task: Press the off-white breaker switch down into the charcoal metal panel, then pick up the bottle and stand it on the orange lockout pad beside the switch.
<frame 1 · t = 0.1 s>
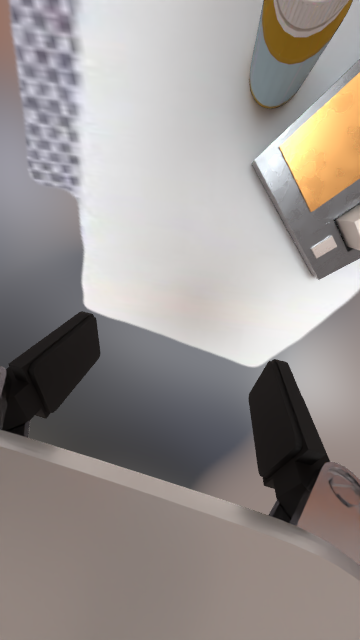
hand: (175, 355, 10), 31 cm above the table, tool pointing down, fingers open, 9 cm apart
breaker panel: (337, 187, 28), on the table
bottle: (277, 71, 23), on the table
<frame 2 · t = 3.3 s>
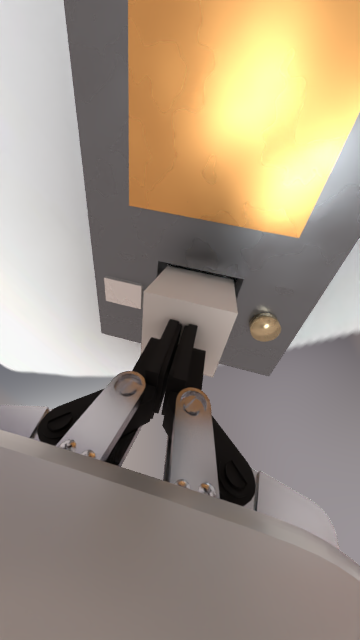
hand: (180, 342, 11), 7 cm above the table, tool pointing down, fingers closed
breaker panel: (213, 218, 13), on the table
breaker switch: (188, 317, 13), point 4 cm above the table, slide at 0.0 cm, touching gripper
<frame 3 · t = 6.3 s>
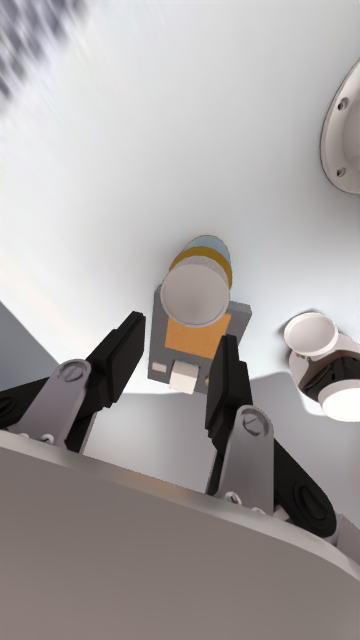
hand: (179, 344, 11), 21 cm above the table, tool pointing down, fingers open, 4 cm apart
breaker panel: (192, 342, 38), on the table
bottle: (206, 258, 29), on the table
breaker switch: (184, 373, 38), point 3 cm above the table, slide at 1.2 cm
spread jar: (308, 339, 32), on the table
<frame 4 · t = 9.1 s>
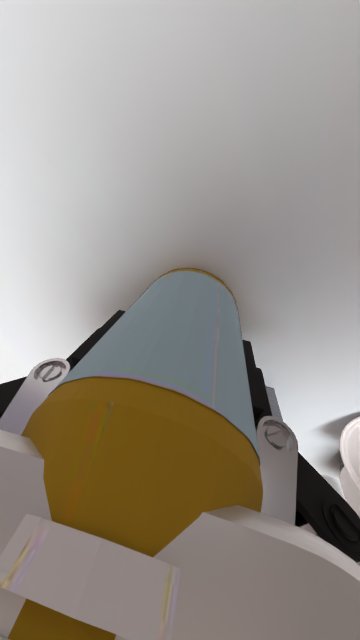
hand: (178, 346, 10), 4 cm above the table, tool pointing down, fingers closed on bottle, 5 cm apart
bottle: (190, 309, 14), on the table, touching gripper
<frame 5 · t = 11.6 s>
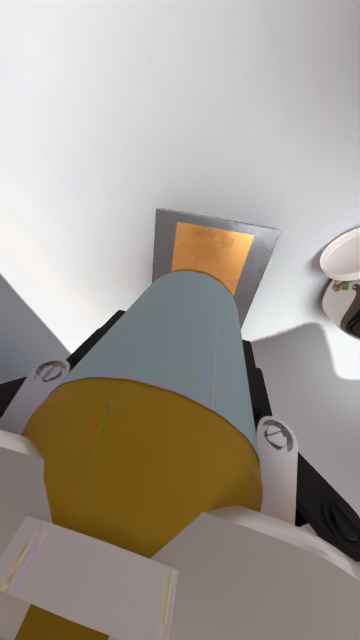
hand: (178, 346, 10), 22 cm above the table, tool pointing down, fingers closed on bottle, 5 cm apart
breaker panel: (201, 289, 32), on the table
bottle: (190, 309, 14), point 17 cm above the table, touching gripper
spread jar: (347, 273, 26), on the table
when the fingers open (9 cm above the table, at t = 14.6 s): bottle stays where it is, resting on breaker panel.
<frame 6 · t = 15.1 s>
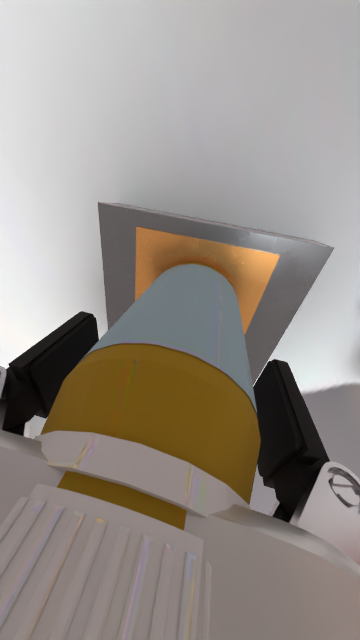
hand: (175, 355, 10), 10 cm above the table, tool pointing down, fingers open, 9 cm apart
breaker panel: (187, 329, 21), on the table
bottle: (193, 302, 15), point 3 cm above the table, touching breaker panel
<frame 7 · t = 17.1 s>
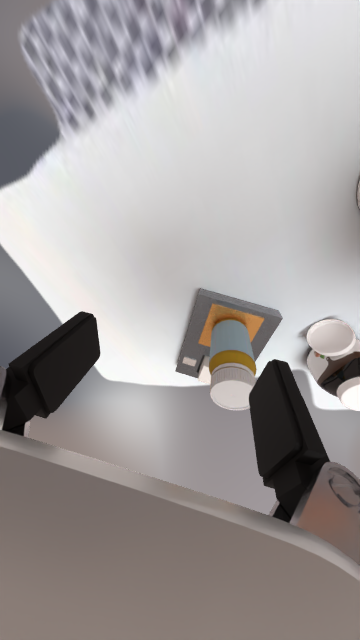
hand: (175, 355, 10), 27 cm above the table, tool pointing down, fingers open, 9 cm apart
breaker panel: (220, 340, 42), on the table
bottle: (229, 331, 37), point 3 cm above the table, touching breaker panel
breaker switch: (211, 368, 43), point 3 cm above the table, slide at 1.2 cm
spread jar: (325, 342, 38), on the table
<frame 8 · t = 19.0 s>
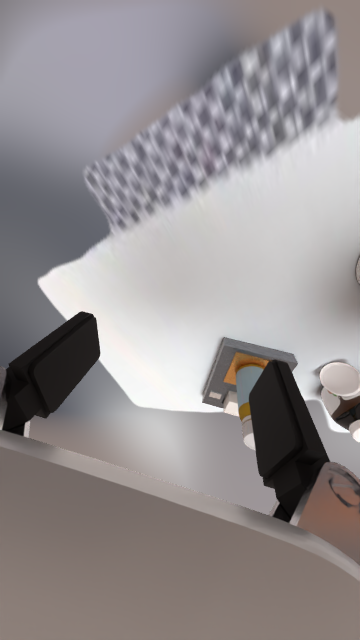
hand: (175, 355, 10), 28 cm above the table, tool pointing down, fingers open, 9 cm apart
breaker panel: (242, 376, 48), on the table
bottle: (250, 372, 43), point 3 cm above the table, touching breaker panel
breaker switch: (235, 400, 48), point 3 cm above the table, slide at 1.2 cm
spread jar: (336, 378, 43), on the table
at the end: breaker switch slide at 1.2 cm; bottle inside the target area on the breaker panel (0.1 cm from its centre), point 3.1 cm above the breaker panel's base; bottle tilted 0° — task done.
